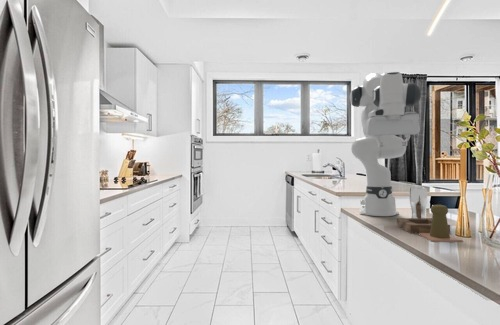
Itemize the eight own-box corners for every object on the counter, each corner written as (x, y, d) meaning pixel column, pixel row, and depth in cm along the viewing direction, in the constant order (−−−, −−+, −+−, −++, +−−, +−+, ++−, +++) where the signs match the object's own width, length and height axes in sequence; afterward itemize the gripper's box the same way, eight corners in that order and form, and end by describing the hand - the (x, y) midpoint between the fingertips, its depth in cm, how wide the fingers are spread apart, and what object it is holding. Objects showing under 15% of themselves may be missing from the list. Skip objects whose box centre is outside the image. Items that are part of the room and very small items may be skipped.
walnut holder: (397, 225, 133) (397, 218, 133) (432, 225, 132) (431, 218, 132) (410, 233, 119) (410, 225, 119) (450, 233, 118) (450, 225, 118)
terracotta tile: (418, 234, 117) (418, 232, 117) (447, 234, 116) (447, 232, 116) (431, 241, 107) (431, 239, 107) (462, 241, 106) (462, 239, 106)
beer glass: (430, 221, 139) (430, 187, 139) (423, 223, 135) (422, 188, 135) (414, 219, 145) (413, 186, 145) (406, 221, 141) (406, 187, 140)
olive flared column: (452, 238, 108) (452, 206, 108) (432, 237, 109) (432, 206, 109) (446, 234, 114) (445, 203, 114) (427, 233, 115) (427, 203, 115)
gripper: (415, 112, 130) (416, 145, 130) (364, 114, 132) (364, 147, 132) (422, 109, 124) (423, 145, 124) (368, 111, 126) (369, 146, 126)
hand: (392, 146), depth 128 cm, fingers open, 8 cm apart
